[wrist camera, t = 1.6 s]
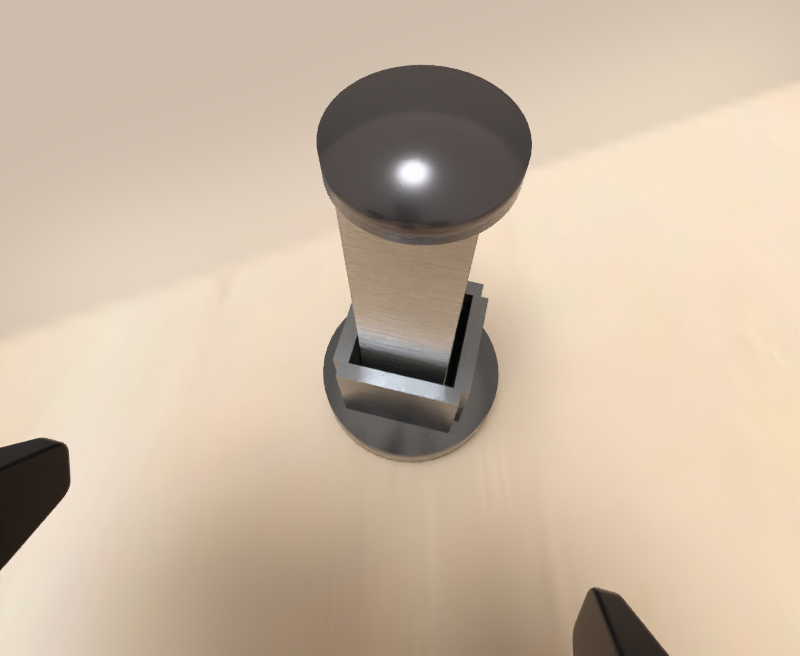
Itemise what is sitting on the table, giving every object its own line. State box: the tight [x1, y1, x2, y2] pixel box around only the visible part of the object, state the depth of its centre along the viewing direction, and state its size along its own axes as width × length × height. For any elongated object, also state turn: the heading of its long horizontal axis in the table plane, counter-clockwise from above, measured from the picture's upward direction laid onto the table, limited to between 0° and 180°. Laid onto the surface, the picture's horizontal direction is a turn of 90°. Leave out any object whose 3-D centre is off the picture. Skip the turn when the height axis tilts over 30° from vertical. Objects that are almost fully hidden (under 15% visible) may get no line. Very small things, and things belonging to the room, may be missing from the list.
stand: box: [323, 281, 498, 462], centre depth 21 cm, size 8×8×6 cm
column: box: [317, 65, 532, 385], centre depth 16 cm, size 5×5×13 cm
